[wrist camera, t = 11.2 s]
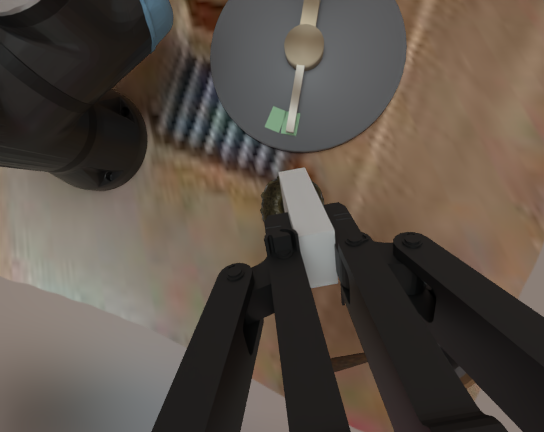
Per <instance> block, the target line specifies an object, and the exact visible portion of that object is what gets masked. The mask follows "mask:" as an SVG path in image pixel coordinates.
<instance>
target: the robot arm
mask: <svg viewBox="0 0 544 432" xmlns="http://www.w3.org/2000/svg"><path fill="white" fill-rule="evenodd" d="M172 25H173V11H172V8H171V5H170V2H169V0H0V167H9V168H18V169H26V170H35V171H44V172H49V173H51V174H53V175H54V176H56V177H58V178H60V179H61V180H63V181H65V182H67V183H68V184H70V185H72V186H75V187H78V188H81V189H87V190H99V191H102V190H109V189H113V188H116V187H118V186H120V185H122V184H124V183H125V182H127V181H128V180H129V179H130V178H131V177H132V176H133V175H134V174H135V173H136V172H137V170H138V169H139V167H140V165H141V163H142V161H143V159H144V156H145V152H146V146H147V133H146V127H145V123H144V121H143V118H142V116H141V114H140V112H139V111H138V109H137V108H136V106H135V105H134V104H133V103H132V102H131V101H130V100H128V99H127V98H126V97H124V96H123V95H121V94H119V93H118V92H116V91H114V90H112V89H111V88H112V87H114V86H115V85H116V84H117V83H118V82H119V81H120V80H121V79H122V78H123V77H125V76H126V75H127V74H128V73H129V72H130V71H131V70H132V69H133V68H134V67H135V66H137V65H138V64H139V63H140V62H141V61H142V60H143V59H144V58H145V57H146V56H148V55H149V54H151V53H152V52H153V51H154V50H155V48H156V45H157V44H158V43H159V42H160V41H161V40H162V39H163V38H164V37H165V35H166V34H167V33H168V32H169V31H170V29H171V27H172ZM278 173H279V179H280V186H281V192H282V198H283V205H284V211H285V213H280V214H274V215H269V216H267V218H266V220H265V221H264V224H265V232H266V235H265V238H264V241H265V246H266V251H267V257H266V259H265V260H264V261H263V262H262V263H260V264H259V265H257V266H254V267H252V268H251V267H250V266H249V265H247V264H243V263H236V264H232V265H229V266H227V267H225V268H224V269H223V270H222V271H221V272H220V273H219V275H218V277H217V280H216V282H215V284H214V287H213V289H212V291H211V294H210V296H209V298H208V301H207V303H206V305H205V308H204V310H203V312H202V315H201V317H200V319H199V322H198V324H197V326H196V329H195V331H194V333H193V336H192V338H191V341H190V343H189V345H188V348H187V350H186V352H185V355H184V357H183V359H182V362H181V364H180V366H179V369H178V371H177V373H176V376H175V378H174V380H173V383H172V385H171V387H170V390H169V392H168V394H167V397H166V399H165V401H164V404H163V406H162V409H161V411H160V413H159V415H158V418H157V420H156V422H155V425H154V427H153V429H152V432H240V430H241V426H242V421H243V416H244V412H245V407H246V402H247V398H248V393H249V388H250V383H251V379H252V374H253V370H254V365H255V360H256V356H257V351H258V346H259V341H260V337H261V332H262V327H263V323H264V318H265V317H267V316H269V315H271V314H273V313H275V320H276V328H277V336H278V344H279V352H280V360H281V368H282V376H283V384H284V392H285V400H286V408H287V417H288V425H289V432H351V431H350V428H349V424H348V421H347V417H346V414H345V410H344V406H343V403H342V399H341V396H340V392H339V388H338V385H337V381H336V378H335V374H334V370H333V367H332V363H331V360H330V356H329V352H328V349H327V345H326V341H325V338H324V334H323V331H322V327H321V323H320V320H319V316H318V313H317V309H316V305H315V302H314V298H313V295H312V291H311V288H315V287H321V286H326V285H332V284H338V277H339V280H340V283H341V299H342V305H345V303H346V306H347V308H348V311H349V314H350V316H351V319H352V322H353V324H354V327H355V329H356V332H357V335H358V337H359V340H360V342H361V345H362V348H363V350H364V353H365V355H366V358H367V361H368V363H369V366H370V369H371V371H372V374H373V376H374V379H375V382H376V384H377V387H378V389H379V392H380V395H381V397H382V400H383V402H384V405H385V408H386V410H387V413H388V416H389V418H390V421H391V423H392V426H393V429H394V431H395V432H508V431H507V430H506V429H505V427H504V426H503V425H502V424H501V422H499V421H498V420H497V419H496V418H495V417H493V416H489V415H485V414H484V413H483V412H481V411H480V409H479V408H478V407H477V405H476V404H475V402H474V401H473V399H472V397H471V396H470V394H469V393H468V391H467V389H466V388H465V386H464V385H463V383H462V381H461V380H460V378H459V377H458V375H457V374H456V372H455V370H454V369H453V367H452V366H451V364H450V362H449V361H448V359H447V358H446V356H445V355H444V353H443V351H442V350H441V348H440V347H439V345H440V346H441V347H442V348H443V349H444V350H445V352H446V353H447V354H448V355H449V356H450V357H451V358H452V359H453V360H454V361H455V362H456V363H457V364H458V365H459V366H460V367H461V368H462V369H463V370H464V371H465V372H466V373H467V374H468V375H469V376H470V377H471V378H472V379H473V380H474V382H475V383H476V384H477V385H478V386H479V387H480V388H481V389H482V390H483V391H484V392H485V393H486V394H487V395H488V396H489V397H490V398H491V399H492V400H493V401H494V402H495V403H496V404H497V405H498V406H499V407H500V408H501V409H502V411H503V412H504V413H505V414H506V415H507V416H508V417H509V418H510V419H511V420H512V421H513V422H514V423H515V424H516V425H517V426H518V427H519V428H520V429H521V430H522V431H523V432H544V317H543V316H541V315H540V314H538V313H537V312H535V311H534V310H532V309H531V308H530V307H528V306H527V305H525V304H524V303H522V302H521V301H519V300H518V299H516V298H515V297H514V296H512V295H511V294H509V293H508V292H506V291H505V290H503V289H502V288H500V287H499V286H498V285H496V284H495V283H493V282H492V281H490V280H489V279H487V278H486V277H484V276H483V275H482V274H480V273H479V272H477V271H476V270H474V269H473V268H471V267H470V266H468V265H467V264H465V263H464V262H463V261H461V260H460V259H458V258H457V257H455V256H454V255H452V254H451V253H449V252H448V251H447V250H445V249H444V248H442V247H441V246H439V245H438V244H436V243H435V242H433V241H432V240H431V239H429V238H428V237H426V236H424V235H422V234H419V233H414V232H405V233H401V234H399V235H397V236H395V238H394V239H393V243H382V242H375V241H373V240H372V239H371V237H370V236H368V235H367V234H365V233H363V232H361V231H360V230H359V228H358V226H357V225H356V223H355V221H354V220H353V218H352V216H351V215H350V213H349V211H348V210H347V208H346V207H345V206H344V205H342V204H340V203H339V202H338V203H332V204H326V205H322V203H321V201H320V199H319V197H318V194H317V192H316V190H315V188H314V186H313V184H312V182H311V180H310V178H309V175H308V173H307V171H306V169H305V168H299V169H294V170H288V171H283V172H278ZM344 301H345V302H344ZM438 344H439V345H438Z"/></svg>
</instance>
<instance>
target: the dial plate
mask: <svg viewBox="0 0 544 432" xmlns="http://www.w3.org/2000/svg"><path fill="white" fill-rule="evenodd" d="M303 3H304V0H228V2H227V3H226V5H225V7H224V8H223V10H222V12H221V14H220V17H219V19H218V21H217V24H216V27H215V30H214V33H213V38H212V44H211V56H210V62H211V73H212V78H213V83H214V86H215V89H216V92H217V95H218V97H219V99H220V101H221V103H222V105H223V107H224V108H225V110H226V111H227V113H228V114H229V116H230V117H231V118H232V119H233V120H234V122H235V123H236V124H237V125H238V126H239V127H240V128H241V129H242V130H243V131H244V132H246V133H247V134H248V135H249V136H251V137H252V138H254V139H255V140H257V141H258V142H260V143H263V144H265V145H267V146H269V147H272V148H275V149H278V150H282V151H288V152H296V153H309V152H318V151H323V150H327V149H331V148H334V147H336V146H339V145H342V144H344V143H346V142H348V141H349V140H351V139H353V138H355V137H356V136H358V135H359V134H361V133H362V132H363V131H365V130H366V129H367V128H368V127H369V126H370V125H371V124H372V123H374V121H375V120H376V119H377V118H378V117H379V116H380V115H381V113H382V112H383V111H384V109H385V108H386V106H387V105H388V103H389V102H390V100H391V99H392V97H393V95H394V93H395V91H396V89H397V87H398V85H399V82H400V79H401V77H402V74H403V69H404V65H405V60H406V47H407V46H406V32H405V27H404V22H403V18H402V15H401V12H400V10H399V7H398V5H397V3H396V1H395V0H320V6H319V12H318V18H317V24H316V28H318V29H319V30H320V32H321V33H322V35H323V38H324V52H323V57H322V59H321V61H320V63H319V64H318V65H317V66H316V67H314V68H313V69H311V70H308V71H304V75H303V81H302V87H301V93H300V98H299V104H298V110H297V116H296V122H295V128H294V133H288V132H286V126H287V120H288V114H289V108H290V102H291V96H292V90H293V84H294V79H295V73H296V69H294V68H293V67H291V66H290V64H289V63H288V61H287V59H286V54H285V48H284V42H285V38H286V36H287V34H288V33H289V32H290V30H292V29H293V28H294V27H296V26H298V25H300V21H301V15H302V9H303Z"/></svg>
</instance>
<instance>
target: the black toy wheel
mask: <svg viewBox="0 0 544 432" xmlns="http://www.w3.org/2000/svg"><path fill="white" fill-rule="evenodd" d="M310 180H311V179H310ZM311 182H312V181H311ZM312 184H313V186H314V188H315V190H316V192H317V194H318V197H319V199H320V201H321V203H322V205H323V204H324V199H323V197H322V193H321V190H320V188H319V187H318V186H317V185H316V184H315V183H314V182H312ZM261 198H262V208H261V210H260V211H261V213H262V219H263V221H265V220H266V218H267V216H269V215H274V214H280V213H285V211H284V205H283V198H282V192H281V186H280V179H279V176H278V177H277V179H275V180H272V181H271V182H269V183H268V184H267V186H266V188H265V190H264V192H263V193H262V195H261Z"/></svg>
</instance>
